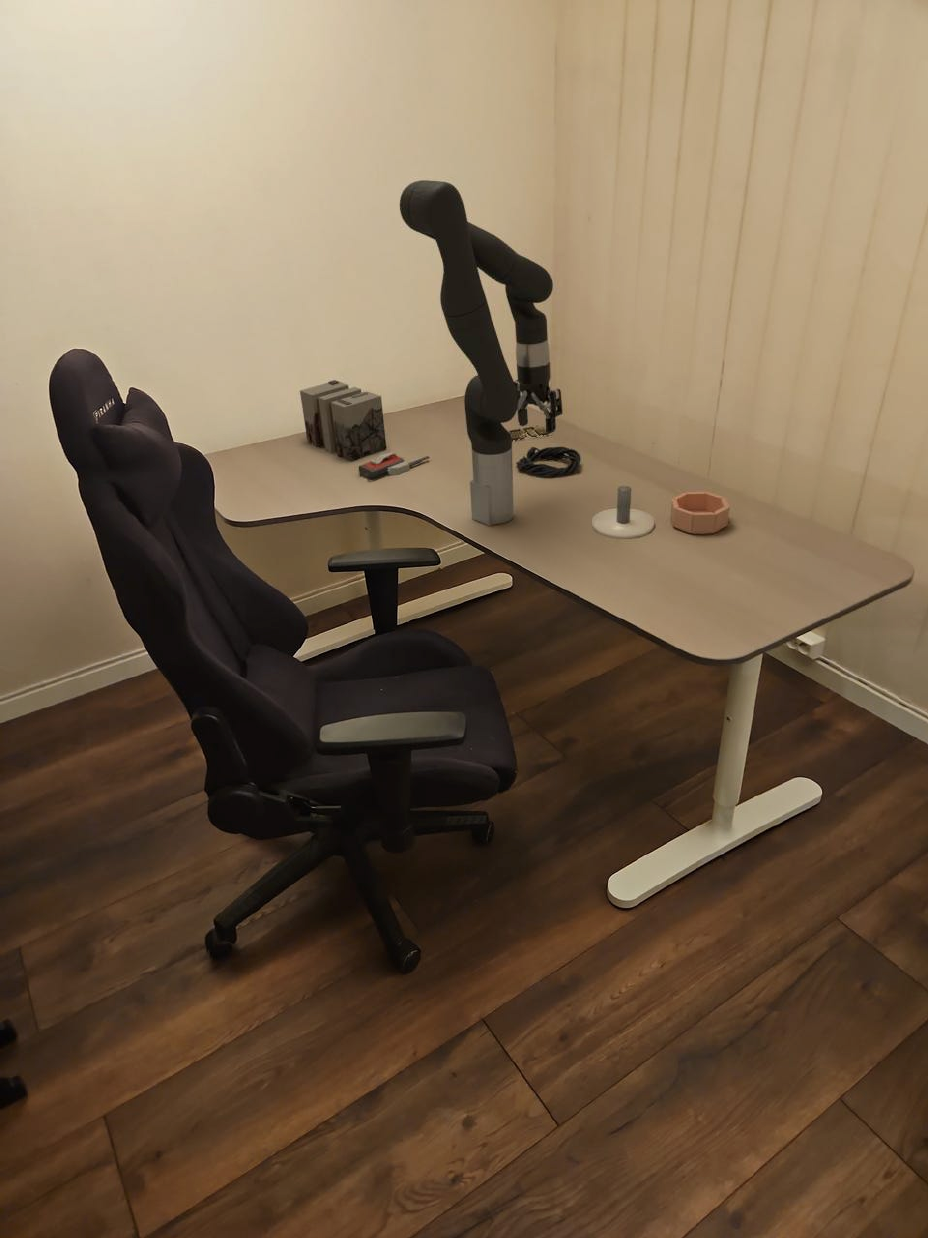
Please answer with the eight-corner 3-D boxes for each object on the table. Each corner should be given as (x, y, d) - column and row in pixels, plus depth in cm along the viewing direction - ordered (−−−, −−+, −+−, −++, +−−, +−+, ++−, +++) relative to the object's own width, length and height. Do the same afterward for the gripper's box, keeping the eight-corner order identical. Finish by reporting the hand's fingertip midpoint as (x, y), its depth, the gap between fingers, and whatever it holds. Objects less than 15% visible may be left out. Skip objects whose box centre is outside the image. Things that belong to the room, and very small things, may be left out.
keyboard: (482, 449, 248) (481, 442, 247) (472, 439, 256) (472, 432, 255) (554, 437, 253) (554, 431, 252) (542, 427, 261) (542, 421, 260)
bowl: (704, 540, 194) (706, 519, 191) (660, 523, 202) (661, 503, 199) (736, 522, 200) (738, 502, 198) (692, 507, 208) (694, 487, 206)
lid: (626, 545, 194) (628, 507, 189) (579, 526, 203) (580, 489, 199) (666, 524, 202) (669, 487, 197) (619, 507, 211) (620, 471, 206)
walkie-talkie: (374, 485, 230) (432, 462, 241) (372, 469, 228) (430, 447, 239) (354, 477, 236) (411, 455, 247) (352, 461, 233) (410, 440, 245)
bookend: (343, 429, 267) (337, 376, 259) (393, 449, 251) (388, 393, 242) (299, 443, 259) (290, 389, 250) (347, 465, 242) (340, 408, 234)
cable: (591, 467, 233) (591, 451, 231) (561, 485, 224) (561, 469, 222) (538, 454, 243) (537, 439, 240) (507, 471, 234) (506, 455, 231)
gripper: (499, 360, 201) (504, 427, 210) (545, 369, 192) (549, 440, 201) (521, 351, 205) (525, 417, 214) (568, 360, 196) (570, 429, 205)
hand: (537, 428), depth 208 cm, fingers open, 8 cm apart
